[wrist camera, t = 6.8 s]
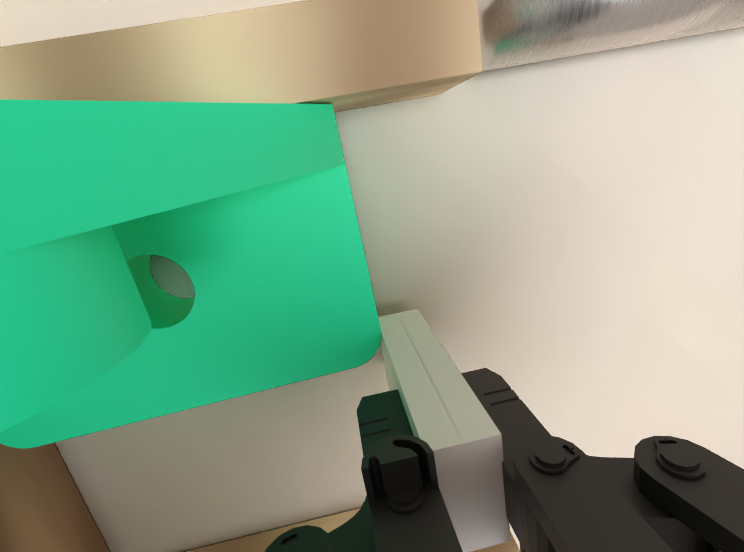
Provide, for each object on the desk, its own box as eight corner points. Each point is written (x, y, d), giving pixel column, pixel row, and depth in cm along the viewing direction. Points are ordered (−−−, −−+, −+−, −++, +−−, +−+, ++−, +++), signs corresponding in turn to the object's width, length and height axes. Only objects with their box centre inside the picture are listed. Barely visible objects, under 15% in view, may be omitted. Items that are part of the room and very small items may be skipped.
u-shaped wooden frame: (87, 613, 17) (-2, 789, 12) (-192, 124, 11) (-581, 98, 6) (486, 511, 18) (544, 634, 14) (432, 24, 12) (504, -61, 8)
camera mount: (54, 404, 14) (-524, 939, 4) (-58, 194, 12) (-1751, 353, 2) (375, 326, 15) (482, 638, 5) (329, 114, 13) (366, -35, 3)
